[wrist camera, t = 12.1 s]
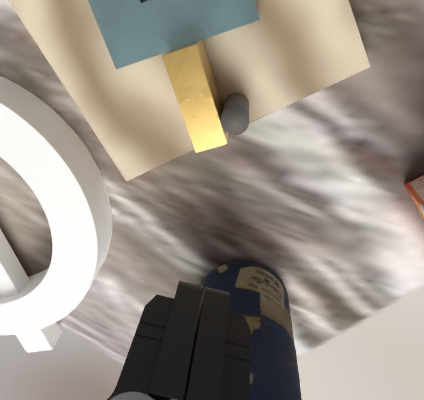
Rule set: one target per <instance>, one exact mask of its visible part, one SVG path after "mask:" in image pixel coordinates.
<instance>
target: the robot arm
mask: <svg viewBox="0 0 424 400" xmlns="http://www.w3.org/2000/svg"><path fill="white" fill-rule="evenodd" d="M202 292H203V286H199V285H195V284H190V283H186V282H182V281H179V284H178V287H177V291H176V295H175V298H174V299H173V298H169V297H165V296H161V295H156V296H155V297H154V298H153V299H152V300H151V301H150V302H149V303H148V304H147V305H146V306H145V308H144V310H143V313H142V316H141V319H140V322H139V324H138V327H137V330H136V333H135V336H134V338H133V341H132V344H131V347H130V350H129V352H128V355H127V358H126V361H125V363H124V366H123V369H122V372H121V375H120V377H119V380H118V383H117V386H116V388H115V390H114V392H113V393H112V395H111V396H110V397H109V398H108V399H107V400H250V346H251V330H250V328H249V325H248V323H247V321H246V319H245V316H244V315H242V314H238V313H234V312H229V311H228V310H229V298H230V293H229V292H225V291H221V290H216V289H212V288H208V287H205V289H204V293H203V297H202ZM201 298H202V300H201ZM200 303H201V304H200Z"/></svg>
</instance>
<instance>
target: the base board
mask: <svg viewBox="0 0 424 400" xmlns="http://www.w3.org/2000/svg"><path fill="white" fill-rule="evenodd" d="M8 1H9V2H10V4H11V5H12V7H13V8H14V10H15V11H16V13H17V14H18V16H19V17H20V19H21V21H22V22H23V24H24V25H25V27H26V28H27V30H28V31H29V33H30V34H31V36H32V37H33V39H34V40H35V42H36V43H37V45H38V47H39V48H40V50H41V51H42V53H43V54H44V56H45V57H46V59H47V60H48V62H49V63H50V65H51V66H52V68H53V69H54V71H55V73H56V74H57V76H58V77H59V79H60V80H61V82H62V83H63V85H64V86H65V88H66V89H67V91H68V92H69V94H70V96H71V97H72V99H73V100H74V102H75V103H76V105H77V106H78V108H79V109H80V111H81V112H82V114H83V115H84V117H85V118H86V120H87V122H88V123H89V125H90V126H91V128H92V129H93V131H94V132H95V134H96V135H97V137H98V138H99V140H100V141H101V143H102V144H103V146H104V148H105V149H106V151H107V152H108V154H109V155H110V157H111V158H112V160H113V161H114V163H115V164H116V166H117V167H118V169H119V170H120V172H121V174H122V175H123V177H124V178H125V180H126V181H128V180H130V179H132V178H135V177H137V176H139V175H141V174H143V173H145V172H147V171H149V170H152V169H154V168H156V167H158V166H160V165H162V164H164V163H167V162H169V161H171V160H173V159H175V158H177V157H179V156H181V155H184V154H186V153H188V152H190V151H192V150H194V146H193V143H192V140H191V138H190V135H189V132H188V129H187V126H186V124H185V121H184V118H183V115H182V112H181V109H180V107H179V104H178V101H177V98H176V95H175V93H174V90H173V87H172V84H171V81H170V79H169V76H168V73H167V70H166V67H165V65H164V62H163V59H162V55H164V54H166V53H167V52H166V53H163V54H160V55H157V56H154V57H151V58H148V59H145V60H142V61H139V62H137V63H134V64H131V65H128V66H125V67H122V68H119V69H116V68H115V66H114V63H113V61H112V58H111V56H110V53H109V51H108V48H107V46H106V44H105V41H104V39H103V36H102V34H101V31H100V29H99V26H98V24H97V22H96V19H95V17H94V14H93V12H92V9H91V7H90V4H89V2H88V0H8ZM145 1H148V0H144V2H145ZM255 3H256V7H257V11H258V15H259V19H260V20H259V21H256V22H253V23H250V24H247V25H244V26H241V27H238V28H235V29H232V30H230V31H227V32H224V33H221V34H218V35H215V36H212V37H209V38H206V39H203V42H204V45H205V49H206V52H207V55H208V58H209V62H210V65H211V68H212V71H213V75H214V78H215V81H216V84H217V88H218V91H219V94H220V97H221V101H222V104H223V111H222V115H221V119H220V123H221V126H222V128H223V130H224V131H225V132H227V133H228V134H231V135H238V134H241V133H243V132H244V131H245V130H246V129H247V127H248V125H249V124H250V123H252V122H254V121H256V120H258V119H260V118H262V117H264V116H267V115H269V114H271V113H273V112H275V111H277V110H279V109H281V108H284V107H286V106H288V105H290V104H292V103H294V102H296V101H299V100H301V99H303V98H305V97H307V96H309V95H311V94H313V93H316V92H318V91H320V90H322V89H324V88H326V87H328V86H330V85H333V84H335V83H337V82H339V81H341V80H343V79H345V78H347V77H350V76H352V75H354V74H356V73H358V72H360V71H362V70H365V69H367V68H369V67H370V64H369V61H368V58H367V55H366V52H365V49H364V46H363V43H362V40H361V36H360V33H359V30H358V27H357V24H356V21H355V18H354V15H353V12H352V9H351V6H350V3H349V0H255ZM168 52H169V51H168Z"/></svg>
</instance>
